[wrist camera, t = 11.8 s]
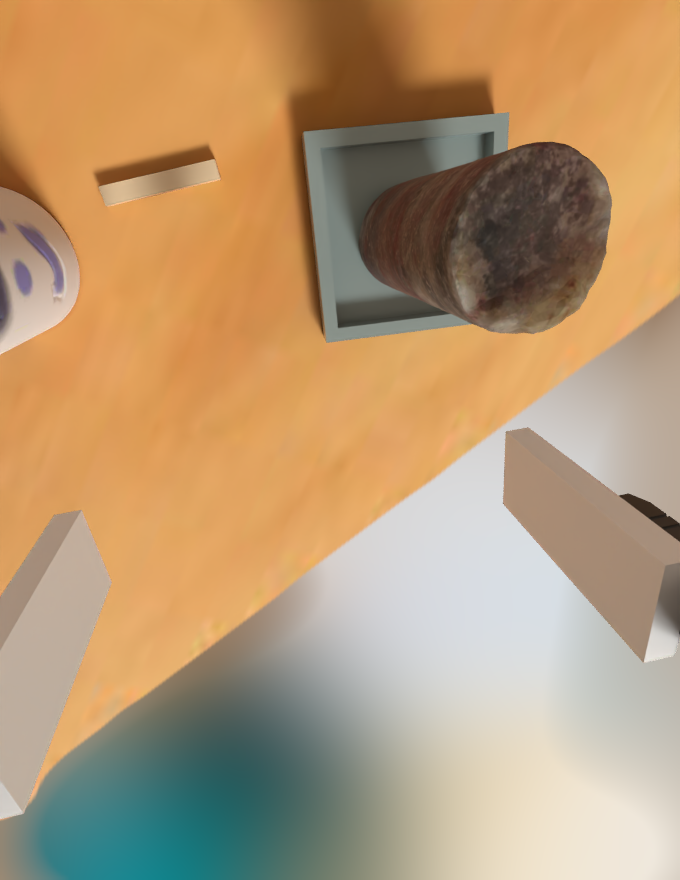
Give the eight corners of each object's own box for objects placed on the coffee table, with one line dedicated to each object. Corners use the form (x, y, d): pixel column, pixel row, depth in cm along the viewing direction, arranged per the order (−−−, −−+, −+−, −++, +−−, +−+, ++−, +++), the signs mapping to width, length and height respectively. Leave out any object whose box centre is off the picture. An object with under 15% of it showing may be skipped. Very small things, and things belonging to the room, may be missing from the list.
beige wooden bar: (110, 206, 34) (105, 206, 33) (103, 187, 34) (98, 186, 32) (221, 179, 34) (220, 178, 33) (216, 160, 34) (214, 159, 33)
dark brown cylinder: (385, 159, 34) (515, 97, 16) (471, 207, 36) (669, 199, 18) (341, 263, 37) (411, 310, 19) (423, 302, 39) (557, 378, 21)
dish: (323, 336, 40) (326, 342, 38) (301, 136, 34) (303, 131, 32) (488, 315, 41) (499, 320, 39) (495, 118, 35) (509, 112, 33)
